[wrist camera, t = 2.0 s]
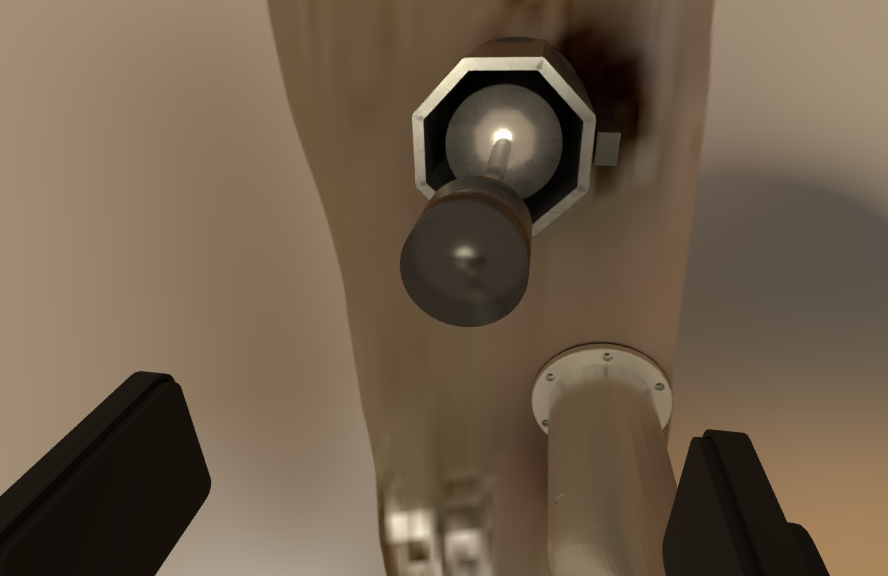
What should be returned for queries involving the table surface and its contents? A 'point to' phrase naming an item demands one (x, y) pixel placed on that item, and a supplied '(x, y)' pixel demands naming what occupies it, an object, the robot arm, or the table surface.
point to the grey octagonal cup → (550, 77)
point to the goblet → (483, 208)
